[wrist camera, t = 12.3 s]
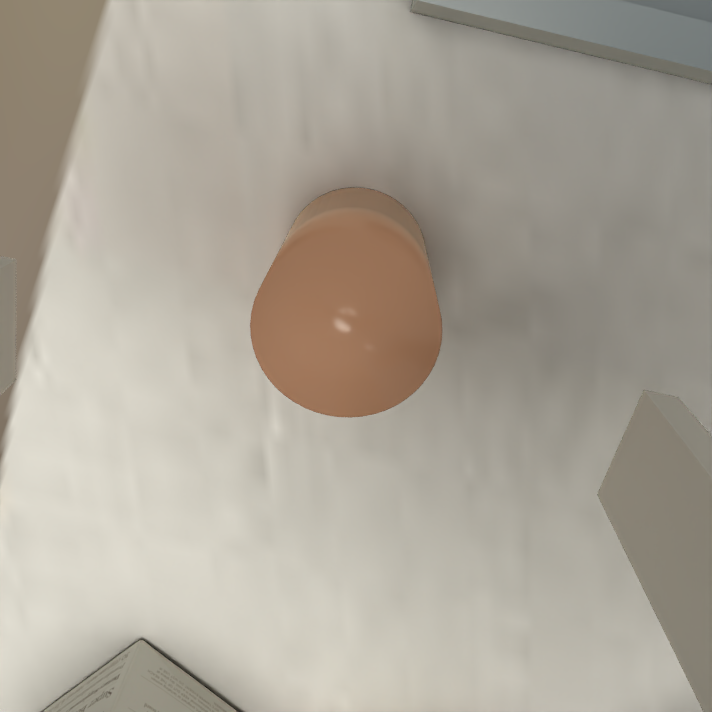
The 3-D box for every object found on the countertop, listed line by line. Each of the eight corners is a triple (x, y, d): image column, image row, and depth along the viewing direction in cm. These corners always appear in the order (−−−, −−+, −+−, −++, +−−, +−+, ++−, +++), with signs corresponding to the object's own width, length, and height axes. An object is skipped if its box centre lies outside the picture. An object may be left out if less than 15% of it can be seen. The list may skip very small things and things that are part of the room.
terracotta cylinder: (442, 204, 23) (464, 263, 17) (407, 337, 25) (415, 433, 19) (298, 172, 23) (266, 219, 17) (274, 308, 25) (237, 396, 19)
